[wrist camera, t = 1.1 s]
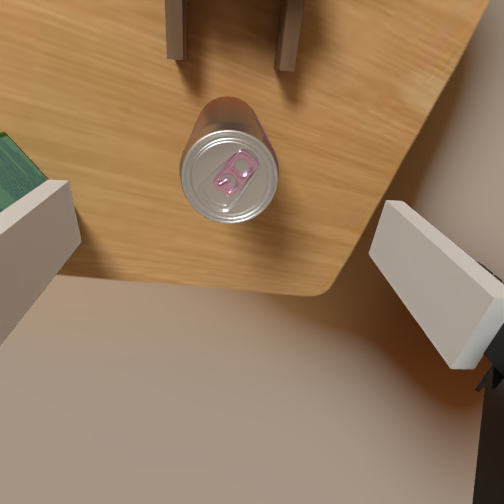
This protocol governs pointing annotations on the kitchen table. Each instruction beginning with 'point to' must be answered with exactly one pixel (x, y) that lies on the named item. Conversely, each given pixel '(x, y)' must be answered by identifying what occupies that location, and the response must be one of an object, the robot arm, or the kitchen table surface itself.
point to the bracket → (285, 42)
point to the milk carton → (16, 173)
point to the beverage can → (228, 163)
